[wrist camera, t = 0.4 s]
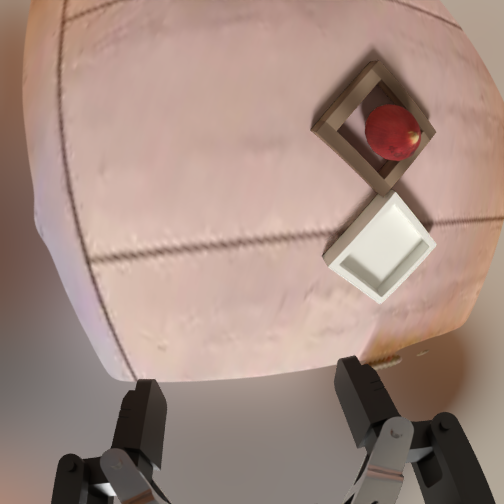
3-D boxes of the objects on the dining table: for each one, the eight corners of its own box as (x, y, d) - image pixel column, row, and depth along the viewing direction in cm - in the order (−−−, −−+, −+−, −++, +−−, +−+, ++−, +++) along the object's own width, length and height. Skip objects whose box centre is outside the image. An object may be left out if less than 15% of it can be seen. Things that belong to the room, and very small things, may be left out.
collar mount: (370, 61, 22) (379, 60, 21) (426, 129, 27) (436, 132, 25) (310, 130, 26) (316, 132, 25) (375, 191, 30) (383, 197, 29)
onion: (400, 143, 28) (443, 160, 21) (361, 159, 28) (400, 179, 21) (387, 97, 25) (432, 102, 18) (345, 111, 25) (384, 117, 19)
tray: (385, 185, 30) (395, 192, 28) (427, 236, 35) (436, 245, 33) (321, 256, 34) (327, 266, 32) (373, 294, 39) (380, 304, 37)
